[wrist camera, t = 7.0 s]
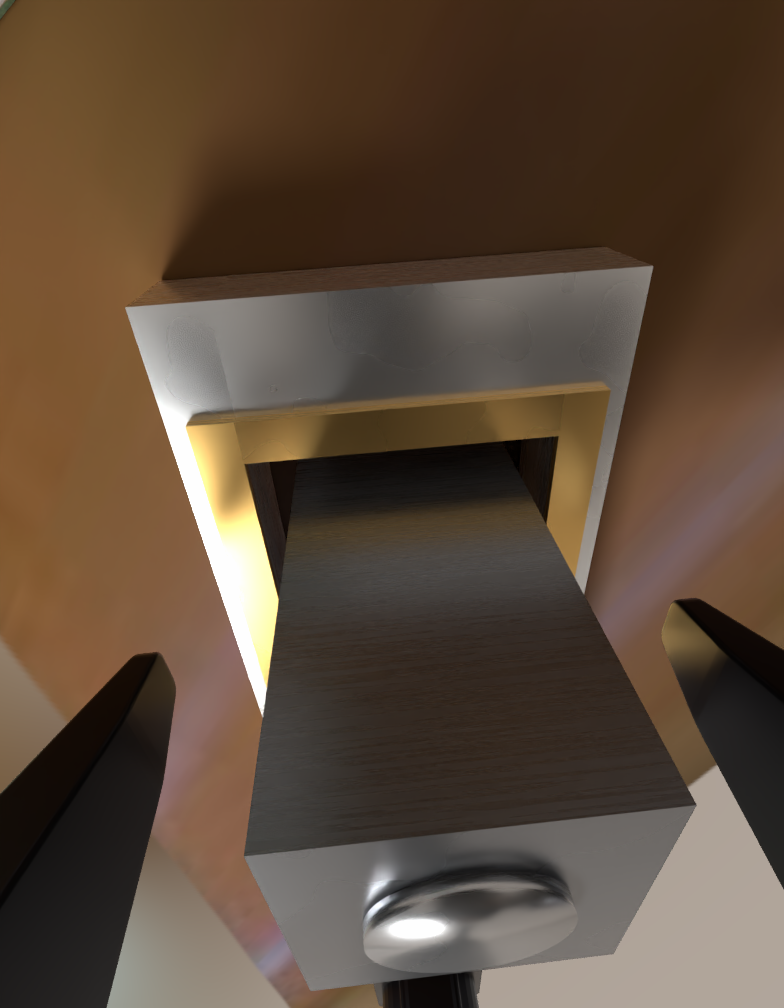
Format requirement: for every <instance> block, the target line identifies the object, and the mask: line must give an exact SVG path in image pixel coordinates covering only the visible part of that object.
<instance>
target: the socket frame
mask: <svg viewBox="0 0 784 1008" xmlns="http://www.w3.org/2000/svg"><path fill="white" fill-rule="evenodd" d="M652 270H653V265H650V264H647V263H645V262H642V261H640V260H637V259H635V258H632V257H630V256H627V255H625V254H622V253H620V252H617V251H615V250H612V249H610V248H607V247H593V248H580V249H567V250H554V251H541V252H528V253H515V254H502V255H489V256H476V257H463V258H450V259H437V260H424V261H411V262H398V263H385V264H372V265H359V266H346V267H333V268H320V269H307V270H294V271H281V272H268V273H255V274H242V275H229V276H216V277H203V278H190V279H177V280H164V281H159V282H157V283H156V284H155V285H154V286H152V287H151V288H150V289H148V290H147V291H146V292H144V293H143V294H142V295H141V296H139V297H138V298H137V299H135V300H134V301H133V302H132V303H130V304H129V305H128V306H126V307H125V308H126V311H127V314H128V317H129V320H130V323H131V326H132V329H133V332H134V335H135V338H136V341H137V344H138V347H139V350H140V353H141V356H142V359H143V362H144V365H145V368H146V371H147V374H148V377H149V380H150V383H151V386H152V389H153V392H154V395H155V398H156V401H157V404H158V407H159V410H160V413H161V416H162V419H163V422H164V425H165V427H166V430H167V433H168V436H169V439H170V442H171V445H172V448H173V451H174V454H175V457H176V460H177V463H178V466H179V469H180V472H181V475H182V478H183V481H184V484H185V487H186V490H187V493H188V496H189V499H190V502H191V505H192V508H193V511H194V514H195V517H196V520H197V523H198V526H199V529H200V532H201V535H202V538H203V541H204V544H205V547H206V550H207V553H208V556H209V559H210V562H211V565H212V568H213V571H214V574H215V577H216V580H217V583H218V586H219V589H220V592H221V595H222V598H223V601H224V604H225V607H226V610H227V613H228V616H229V619H230V622H231V624H232V627H233V630H234V633H235V636H236V639H237V642H238V645H239V648H240V651H241V654H242V657H243V660H244V663H245V666H246V669H247V672H248V675H249V678H250V681H251V684H252V687H253V690H254V693H255V696H256V699H257V702H258V705H259V708H260V711H261V714H262V717H263V712H264V705H265V698H266V690H267V683H268V675H269V668H270V661H271V653H272V646H273V638H274V631H275V624H276V616H277V609H278V601H279V594H280V587H281V579H282V572H283V565H284V557H285V550H286V537H285V533H284V528H283V524H282V519H281V515H280V510H279V505H278V501H277V496H276V492H275V487H274V483H273V478H272V474H271V469H270V465H269V462H273V461H284V460H296V459H307V458H318V457H329V456H340V455H352V454H363V453H374V452H385V451H396V450H407V449H419V448H430V447H441V446H452V445H463V444H475V443H486V442H497V441H508V440H519V439H522V444H521V454H520V465H519V474H520V476H521V478H522V480H523V482H524V484H525V486H526V488H527V489H528V491H529V493H530V495H531V497H532V499H533V501H534V502H535V504H536V506H537V508H538V510H539V512H540V514H541V516H542V517H543V519H544V521H545V523H546V525H547V527H548V529H549V530H550V532H551V534H552V536H553V538H554V540H555V542H556V544H557V545H558V547H559V549H560V551H561V553H562V555H563V557H564V558H565V560H566V562H567V564H568V566H569V568H570V570H571V572H572V573H573V575H574V577H575V579H576V581H577V583H578V585H579V586H580V588H581V590H582V592H583V594H584V592H585V588H586V583H587V578H588V573H589V569H590V564H591V559H592V555H593V550H594V545H595V540H596V536H597V531H598V526H599V521H600V517H601V512H602V507H603V502H604V498H605V493H606V488H607V484H608V479H609V474H610V469H611V465H612V460H613V455H614V450H615V446H616V441H617V436H618V431H619V427H620V422H621V417H622V412H623V408H624V403H625V398H626V394H627V389H628V384H629V379H630V375H631V370H632V365H633V360H634V356H635V351H636V346H637V341H638V337H639V332H640V327H641V322H642V318H643V313H644V308H645V304H646V299H647V294H648V289H649V285H650V280H651V275H652Z"/></svg>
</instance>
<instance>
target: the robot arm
mask: <svg viewBox="0 0 784 1008" xmlns="http://www.w3.org/2000/svg"><path fill="white" fill-rule="evenodd" d="M661 636H662V642H663V645H664V648H665V650H666V653H667V655H668V658H669V660H670V662H671V665H672V667H673V670H674V672H675V675H676V677H677V680H678V682H679V685H680V687H681V690H682V692H683V694H684V697H685V699H686V702H687V704H688V707H689V709H690V712H691V714H692V716H693V718H694V721H695V723H696V725H697V727H698V729H699V731H700V733H701V735H702V737H703V739H704V741H705V743H706V744H707V746H708V748H709V750H710V752H711V754H712V756H713V758H714V759H715V761H716V763H717V765H718V767H719V769H720V771H721V773H722V774H723V776H724V778H725V780H726V782H727V784H728V786H729V788H730V789H731V791H732V793H733V795H734V797H735V799H736V801H737V802H738V805H739V806H740V808H741V810H742V812H743V814H744V816H745V818H746V819H747V821H748V823H749V825H750V827H751V828H752V831H753V832H754V835H755V836H756V838H757V840H758V842H759V844H760V846H761V848H762V850H763V851H764V853H765V855H766V857H767V859H768V861H769V863H770V865H771V866H772V868H773V870H774V872H775V874H776V876H777V878H778V879H779V881H780V883H781V885H782V887H783V889H784V650H783V649H781V648H779V647H778V646H776V645H775V644H773V643H771V642H770V641H768V640H766V639H765V638H763V637H761V636H760V635H758V634H757V633H755V632H753V631H752V630H750V629H748V628H747V627H745V626H743V625H742V624H740V623H739V622H737V621H735V620H734V619H732V618H730V617H729V616H727V615H725V614H724V613H722V612H721V611H719V610H717V609H716V608H714V607H712V606H711V605H709V604H707V603H706V602H704V601H702V600H700V599H697V598H689V599H679V600H675V601H674V602H673V603H671V605H670V608H669V611H668V614H667V617H666V620H665V623H664V625H663V628H662V635H661ZM175 696H176V686H175V682H174V679H173V677H172V675H171V672H170V670H169V668H168V666H167V664H166V662H165V660H164V658H163V656H162V655H161V654H160V653H158V652H153V653H143V654H137V655H135V656H133V657H132V658H131V659H130V660H129V661H128V662H127V663H126V664H125V665H124V666H123V667H122V668H121V669H120V670H119V671H118V672H117V673H116V674H115V675H114V676H113V677H112V678H111V679H110V680H109V681H108V682H107V683H106V685H105V686H104V687H103V688H102V689H101V690H100V691H99V692H98V693H97V694H96V695H95V696H94V697H93V698H92V699H91V700H90V701H89V702H88V703H87V704H86V705H85V706H84V707H83V708H82V709H81V710H80V711H79V713H78V714H77V715H76V716H75V717H74V718H73V719H72V720H71V721H70V722H69V723H68V724H67V725H66V726H65V727H64V728H63V729H62V730H61V731H60V732H59V733H58V734H57V735H56V737H55V738H53V740H52V741H51V742H50V743H49V744H48V745H47V746H46V747H45V748H44V749H43V750H42V751H41V752H40V753H39V754H38V755H37V756H36V757H35V758H34V759H33V760H32V761H31V762H30V763H29V764H28V765H27V766H26V768H25V769H24V770H23V771H22V772H21V773H20V774H19V775H18V776H17V777H16V778H15V779H14V780H13V781H12V782H11V783H10V784H9V785H8V786H7V787H6V788H5V789H4V790H3V792H2V793H0V1008H106V1007H107V1004H108V999H109V996H110V992H111V988H112V984H113V980H114V976H115V972H116V968H117V964H118V960H119V956H120V952H121V948H122V944H123V940H124V936H125V932H126V928H127V924H128V920H129V917H130V912H131V909H132V905H133V901H134V896H135V893H136V889H137V885H138V881H139V877H140V873H141V869H142V865H143V861H144V857H145V853H146V849H147V845H148V841H149V837H150V834H151V830H152V826H153V822H154V818H155V814H156V810H157V806H158V802H159V798H160V794H161V789H162V785H163V780H164V773H165V767H166V760H167V753H168V746H169V739H170V732H171V725H172V717H173V710H174V703H175ZM481 973H482V970H478V971H470V972H462V973H454V974H446V975H438V976H429V977H421V978H413V979H405V980H397V981H389V982H380V983H373V984H374V987H375V991H376V995H377V999H378V1003H379V1005H380V1006H383V1008H479V1006H478V1000H477V994H478V993H479V989H480V982H481Z"/></svg>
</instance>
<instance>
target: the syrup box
mask: <svg viewBox="0 0 784 1008" xmlns="http://www.w3.org/2000/svg"><path fill="white" fill-rule="evenodd" d="M14 1H15V0H0V19H1V18H2V16H3V15H4V14H5V13H6V11H7V10H8V9H9V8H10V6H11V5H12V4H13V2H14Z"/></svg>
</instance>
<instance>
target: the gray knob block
mask: <svg viewBox="0 0 784 1008" xmlns="http://www.w3.org/2000/svg"><path fill="white" fill-rule="evenodd" d="M695 807H696V803H695V802H694V799H693V797H692V796H691V794H690V792H689V790H688V788H687V786H686V784H685V782H684V781H683V779H682V777H681V775H680V773H679V771H678V769H677V768H676V766H675V764H674V762H673V760H672V758H671V756H670V754H669V753H668V751H667V749H666V747H665V745H664V743H663V741H662V740H661V738H660V736H659V734H658V732H657V730H656V728H655V726H654V725H653V723H652V721H651V719H650V717H649V715H648V713H647V712H646V710H645V708H644V706H643V704H642V702H641V700H640V698H639V697H638V695H637V693H636V691H635V689H634V687H633V685H632V684H631V682H630V680H629V678H628V676H627V674H626V672H625V670H624V669H623V667H622V665H621V663H620V661H619V659H618V657H617V656H616V654H615V652H614V650H613V648H612V646H611V644H610V642H609V641H608V639H607V637H606V635H605V633H604V631H603V629H602V628H601V626H600V624H599V622H598V620H597V618H596V616H595V614H594V613H593V611H592V609H591V607H590V605H589V603H588V601H587V600H586V598H585V596H584V594H583V592H582V590H581V588H580V586H579V585H578V583H577V581H576V579H575V577H574V575H573V573H572V572H571V570H570V568H569V566H568V564H567V562H566V560H565V558H564V557H563V555H562V553H561V551H560V549H559V547H558V545H557V544H556V542H555V540H554V538H553V536H552V534H551V532H550V530H549V529H548V527H547V525H546V523H545V521H544V519H543V517H542V516H541V514H540V512H539V510H538V508H537V506H536V504H535V502H534V501H533V499H532V497H531V495H530V493H529V491H528V489H527V488H526V486H525V484H524V482H523V480H522V478H521V476H520V474H519V473H518V471H517V469H516V467H515V465H514V463H513V461H512V460H511V458H510V456H509V454H508V452H507V450H506V448H505V446H504V445H503V443H502V441H497V442H486V443H475V444H463V445H452V446H441V447H430V448H419V449H407V450H396V451H385V452H374V453H363V454H352V455H340V456H329V457H318V458H307V459H298V461H297V468H296V476H295V483H294V491H293V498H292V505H291V513H290V520H289V528H288V535H287V542H286V550H285V557H284V565H283V572H282V579H281V587H280V594H279V601H278V609H277V616H276V624H275V631H274V638H273V646H272V653H271V661H270V668H269V675H268V683H267V690H266V698H265V705H264V712H263V720H262V727H261V735H260V742H259V749H258V757H257V764H256V772H255V779H254V786H253V794H252V801H251V808H250V816H249V823H248V831H247V838H246V845H245V853H244V858H245V860H246V862H247V864H248V866H249V868H250V870H251V872H252V874H253V876H254V878H255V880H256V882H257V884H258V886H259V888H260V890H261V892H262V894H263V896H264V898H265V900H266V902H267V904H268V906H269V908H270V910H271V912H272V914H273V916H274V918H275V920H276V922H277V924H278V926H279V928H280V930H281V932H282V934H283V936H284V938H285V940H286V942H287V944H288V946H289V948H290V950H291V952H292V954H293V956H294V958H295V960H296V962H297V964H298V966H299V968H300V970H301V973H302V975H303V977H304V979H305V981H306V983H307V985H308V987H309V989H310V991H315V990H323V989H331V988H340V987H348V986H356V985H364V984H372V983H380V982H389V981H397V980H405V979H413V978H421V977H429V976H438V975H446V974H454V973H462V972H470V971H478V970H486V969H495V968H502V967H511V966H519V965H527V964H536V963H544V962H552V961H560V960H568V959H576V958H585V957H592V956H601V955H608V954H614V952H615V950H616V948H617V947H618V945H619V943H620V941H621V939H622V938H623V936H624V934H625V932H626V930H627V929H628V927H629V925H630V923H631V921H632V920H633V918H634V916H635V914H636V913H637V911H638V909H639V907H640V905H641V904H642V902H643V900H644V898H645V897H646V895H647V893H648V891H649V889H650V887H651V886H652V884H653V882H654V880H655V878H656V877H657V875H658V873H659V872H660V870H661V868H662V866H663V864H664V863H665V861H666V859H667V857H668V856H669V854H670V852H671V850H672V848H673V847H674V845H675V843H676V841H677V839H678V837H679V836H680V834H681V832H682V830H683V829H684V827H685V825H686V823H687V822H688V820H689V818H690V816H691V814H692V813H693V811H694V809H695Z"/></svg>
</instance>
